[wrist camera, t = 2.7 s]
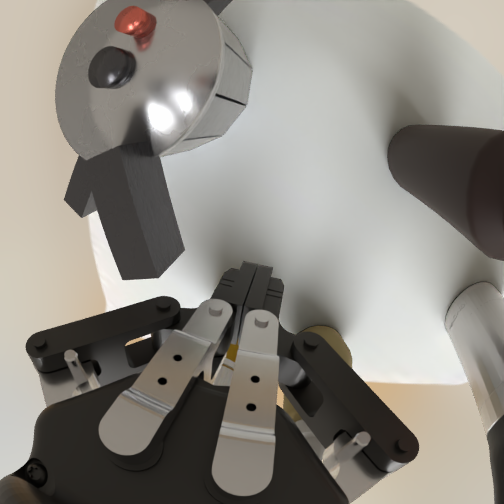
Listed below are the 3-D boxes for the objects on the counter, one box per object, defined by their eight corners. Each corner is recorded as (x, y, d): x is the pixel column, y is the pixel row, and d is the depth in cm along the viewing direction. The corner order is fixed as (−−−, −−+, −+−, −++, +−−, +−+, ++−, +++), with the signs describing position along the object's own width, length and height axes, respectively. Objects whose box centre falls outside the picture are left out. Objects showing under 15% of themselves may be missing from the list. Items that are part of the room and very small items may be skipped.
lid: (60, 43, 14) (23, 40, 10) (206, -38, 10) (180, -67, 6) (105, 257, 22) (72, 282, 18) (266, 237, 18) (252, 271, 14)
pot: (192, -12, 17) (151, -47, 9) (301, 45, 19) (296, 6, 11) (85, 156, 28) (32, 172, 20) (162, 223, 30) (116, 258, 22)
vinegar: (373, 164, 23) (507, 260, 5) (409, 110, 20) (577, 108, 2) (421, 206, 23) (547, 338, 6) (456, 156, 20) (612, 227, 2)
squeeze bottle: (296, 310, 31) (275, 454, 15) (359, 324, 31) (374, 462, 15) (280, 355, 35) (255, 478, 19) (336, 366, 34) (333, 487, 18)
